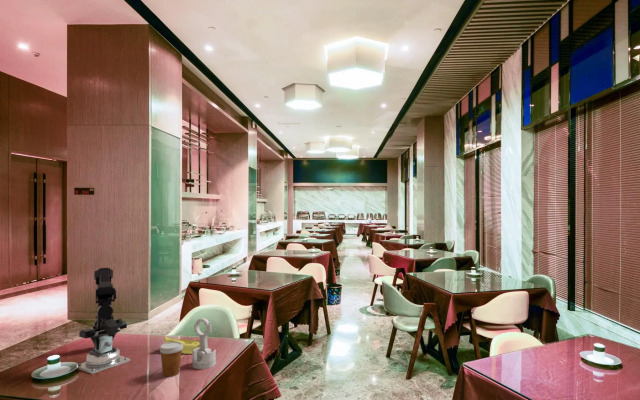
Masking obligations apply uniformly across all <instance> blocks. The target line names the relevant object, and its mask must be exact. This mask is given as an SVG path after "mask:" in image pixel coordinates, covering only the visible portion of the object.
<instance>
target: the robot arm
mask: <svg viewBox="0 0 640 400" xmlns="http://www.w3.org/2000/svg"><path fill="white" fill-rule="evenodd" d="M113 277H114V269H111V268H110V267H100V268H98V269H96V270H95V271H94V273H93V281H95V285H96V288H97V289H95V293H94V295H95V296H94V297H95V301H94V303H95V305H96V304H97V309H96V310H97V313H96V316H95V321H94V323H93V324H94V325H93V326H92V328H90V327H89V328H84V329H80V330H79V336H78V337H80V338H82V339H90V340H91V341H92V343H93V345H94V347H91V350H94V349H95V348H96V350H99V338H100V336H104V335H109V336H112V342H113V341H114V338H115V337H116V335H117V334H118V333H120V331H121V330H124V329H128V328H127V327H128V323H127V322H126V321H123V319H122V318H118V319H114V315H113V313H114V309H113V302H116V300H117V290H116V288H115V287H114V285H113V284H114V283H112V279H114V278H113Z"/></svg>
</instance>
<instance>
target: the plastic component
mask: <svg viewBox="0 0 640 400" xmlns="http://www.w3.org/2000/svg"><path fill="white" fill-rule="evenodd" d="M163 339H164V342H165V343H169V342H181V343H182V345H183V349H182V353H181V354H185V355H193V350H194V349H196V348H199V347H200V340H196V339H195V340H194V339H193V340H192V339H183V338H182V339H180V338H172V337H167V336H166V335H165V336H164V337H163Z"/></svg>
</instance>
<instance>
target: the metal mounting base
mask: <svg viewBox="0 0 640 400" xmlns="http://www.w3.org/2000/svg"><path fill="white" fill-rule="evenodd" d="M120 354H121V351H120V348H117V347H114V346H112V350H110V351H107V352H103V353H99V352H96V351H95V349H91V350H89V352H88V353H87V354H86V361H84V362H78V363H77V364H78V368H79V369H78V368H77V369H78V370H81V371H83V372H85V373H88V374H90V375H93V374H96V373H100V372H101V371H104V370H109V369H111V368H113V367H116V366H119V365H122V364H125V363H128V362H130V361H131V358H129V357H127V356H123V355H120Z"/></svg>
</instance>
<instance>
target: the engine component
mask: <svg viewBox="0 0 640 400" xmlns="http://www.w3.org/2000/svg"><path fill="white" fill-rule="evenodd" d="M201 322H203V324H204V325H205V328H206V331H205V333H203V332H202V331H201V329H200V324H201ZM194 333H196V335H197V336H199V337H198V339H199V341H200V347H199V348H196V349H194V350H193V354H192V365H191V366H192V368H193V369H195V370H206V369H209V368H212V367H214V366H215V365H216V363H217V361H216V360H217V359H216V355H217V354H216V353H217V351H216V350H217V348H215V349H214V350H213V351H212V349H211V348H209V346H208V344H209V343H208V336H209V334H210V333H212V324H211V323H210V321H209V320H208V319H207V318H205V317H201V318H199V319H197V320H196V322H195V323H194Z"/></svg>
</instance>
